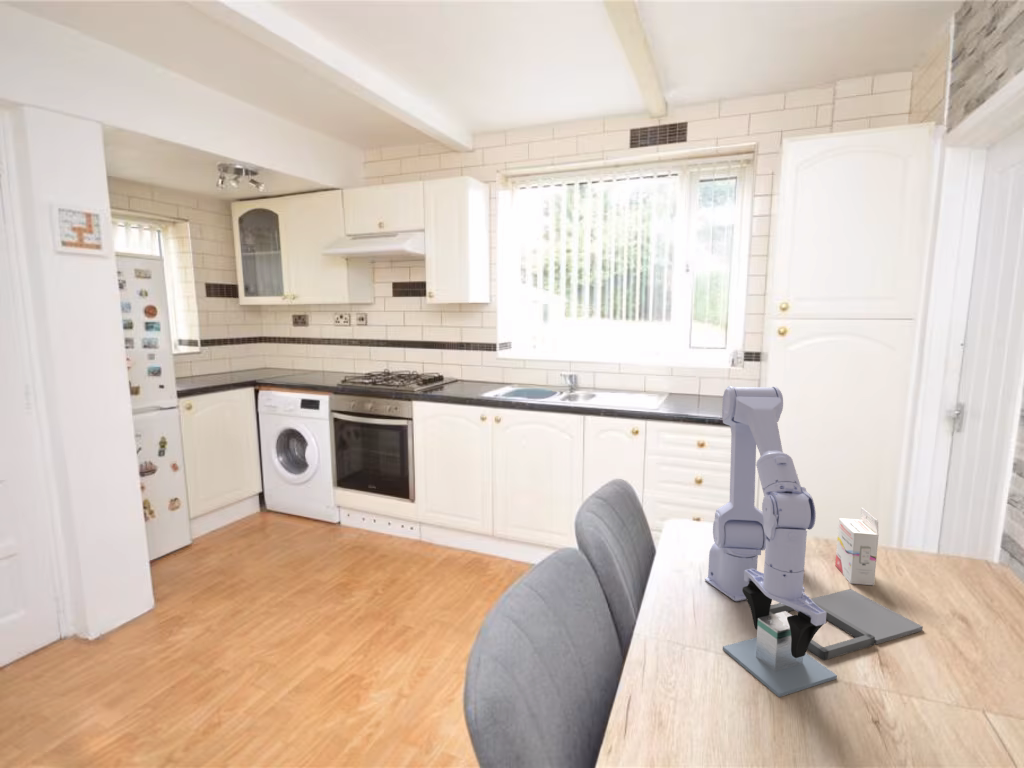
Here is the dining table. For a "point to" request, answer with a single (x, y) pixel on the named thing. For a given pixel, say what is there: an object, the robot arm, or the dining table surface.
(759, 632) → the block
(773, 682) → the pad
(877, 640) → the hinged gray frame
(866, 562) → the ink cartridge box
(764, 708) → the dining table surface
